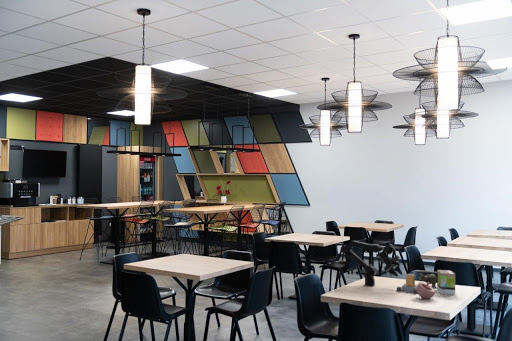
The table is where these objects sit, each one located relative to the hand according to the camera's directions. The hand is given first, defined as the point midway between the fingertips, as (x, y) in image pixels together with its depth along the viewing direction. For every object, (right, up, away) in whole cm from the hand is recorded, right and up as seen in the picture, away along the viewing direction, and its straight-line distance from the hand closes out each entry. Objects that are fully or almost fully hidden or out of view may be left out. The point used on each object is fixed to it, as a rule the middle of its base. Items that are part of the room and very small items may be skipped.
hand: (399, 275), depth 349 cm
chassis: (+6, -10, -5) cm, 13 cm away
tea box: (+30, -10, -10) cm, 33 cm away
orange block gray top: (+6, -9, -5) cm, 12 cm away
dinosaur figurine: (+26, -11, +6) cm, 29 cm away
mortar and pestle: (+8, -9, -30) cm, 32 cm away
